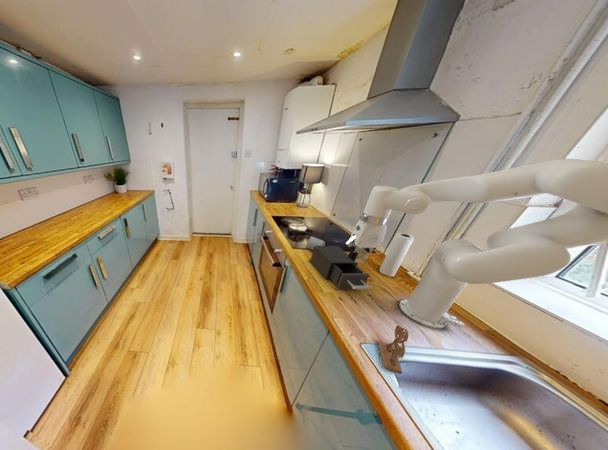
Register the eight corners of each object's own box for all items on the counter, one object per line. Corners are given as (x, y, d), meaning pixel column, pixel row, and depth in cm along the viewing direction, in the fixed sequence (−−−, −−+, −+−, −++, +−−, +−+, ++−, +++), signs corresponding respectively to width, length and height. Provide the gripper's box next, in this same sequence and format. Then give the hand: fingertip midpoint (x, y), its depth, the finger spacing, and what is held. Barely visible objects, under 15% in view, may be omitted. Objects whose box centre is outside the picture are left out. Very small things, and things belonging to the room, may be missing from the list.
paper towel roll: (386, 277, 95) (406, 238, 86) (375, 269, 101) (393, 232, 92) (400, 276, 96) (421, 238, 87) (388, 269, 101) (407, 232, 92)
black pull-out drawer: (372, 297, 81) (379, 282, 78) (345, 297, 81) (351, 283, 78) (342, 270, 98) (347, 256, 95) (320, 270, 98) (324, 256, 94)
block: (358, 256, 84) (361, 247, 82) (365, 262, 80) (369, 253, 78) (348, 256, 84) (351, 247, 82) (355, 262, 80) (359, 253, 78)
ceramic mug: (320, 255, 112) (324, 243, 108) (305, 250, 116) (308, 238, 113) (324, 248, 119) (327, 236, 116) (309, 243, 124) (312, 232, 121)
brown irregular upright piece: (401, 374, 56) (421, 347, 51) (384, 367, 57) (402, 340, 52) (392, 347, 63) (409, 321, 58) (377, 342, 65) (392, 316, 60)
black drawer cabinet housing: (351, 279, 93) (358, 262, 89) (325, 279, 93) (331, 262, 89) (332, 261, 107) (338, 245, 103) (310, 261, 106) (314, 245, 102)
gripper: (359, 222, 71) (343, 264, 78) (404, 223, 71) (383, 264, 79) (345, 215, 77) (331, 254, 85) (386, 215, 78) (369, 254, 86)
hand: (357, 258), depth 82 cm, fingers closed on block, 4 cm apart
